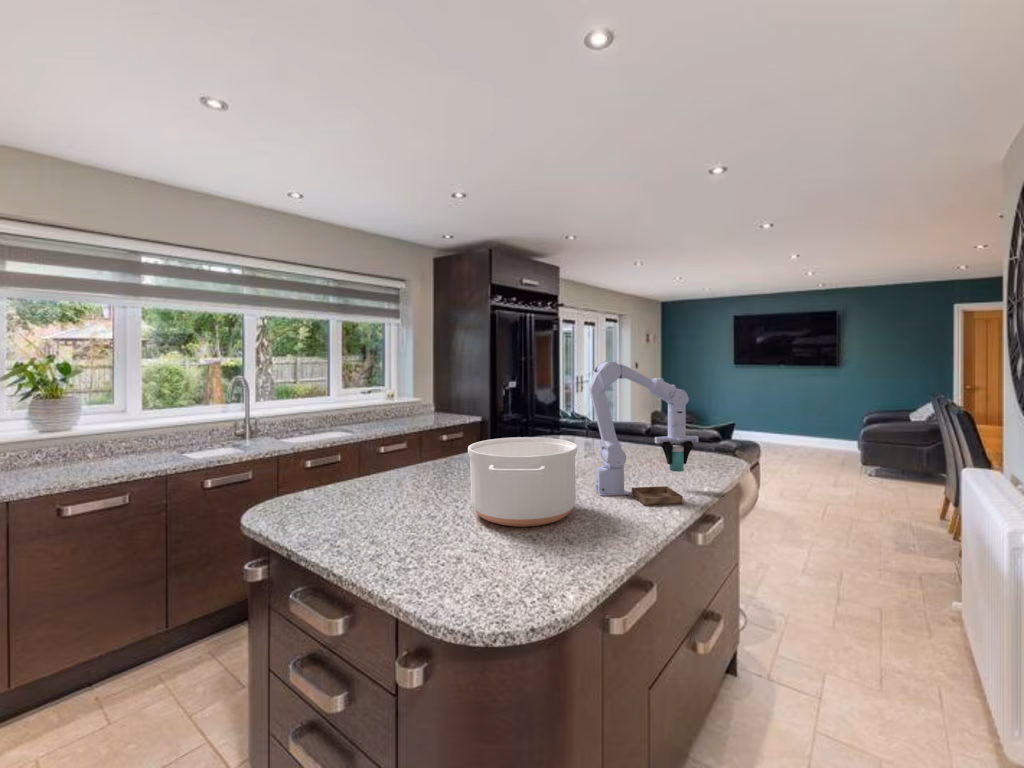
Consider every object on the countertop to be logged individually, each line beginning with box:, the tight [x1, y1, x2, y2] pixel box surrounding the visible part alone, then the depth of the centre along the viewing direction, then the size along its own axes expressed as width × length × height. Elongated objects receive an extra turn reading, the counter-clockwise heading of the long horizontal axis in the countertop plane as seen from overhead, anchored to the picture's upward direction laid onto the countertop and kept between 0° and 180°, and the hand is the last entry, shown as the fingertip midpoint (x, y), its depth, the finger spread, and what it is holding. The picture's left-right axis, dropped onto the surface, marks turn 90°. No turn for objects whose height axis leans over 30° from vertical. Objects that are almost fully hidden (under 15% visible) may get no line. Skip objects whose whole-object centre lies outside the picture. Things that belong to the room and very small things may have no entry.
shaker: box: [669, 444, 685, 473], centre depth 165 cm, size 5×5×8 cm
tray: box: [631, 485, 684, 507], centre depth 155 cm, size 12×12×2 cm
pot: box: [467, 436, 578, 528], centre depth 143 cm, size 42×32×20 cm
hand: (676, 463), depth 166 cm, fingers closed on shaker, 5 cm apart
